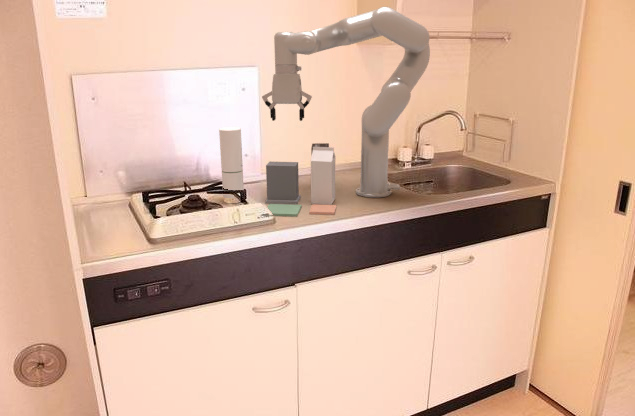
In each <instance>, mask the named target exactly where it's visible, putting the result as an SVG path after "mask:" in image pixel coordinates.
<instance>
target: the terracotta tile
mask: <svg viewBox="0 0 635 416" xmlns="http://www.w3.org/2000/svg"><path fill="white" fill-rule="evenodd" d="M336 211H337V204H332V205H327V204H312V205H311V206H310V209H309V211H308V212H309V213H308V214H309V215H326V216H327V215H328V216H329V215H331V216H335V214H336Z"/></svg>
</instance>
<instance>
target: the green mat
mask: <svg viewBox="0 0 635 416" xmlns="http://www.w3.org/2000/svg"><path fill="white" fill-rule="evenodd" d="M267 207H268V209H269V210H270V211H271V212H272V214H273V215H275V216H274V217H292V218H293V217H296V218H297V217H298V216H299V214H300V212H301V209H302V207H303V206H302V204H271V203H268V205H267ZM267 207H266V208H267Z"/></svg>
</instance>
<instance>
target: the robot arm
mask: <svg viewBox="0 0 635 416" xmlns="http://www.w3.org/2000/svg"><path fill="white" fill-rule="evenodd" d="M430 36H431V35H430V33H429V30H428V29H427V27H425V26H424V25H423V24H421V23H418V22H417V21H416V20H413V19H411V18H410V17H408V16H406V15H404V14H403V13H400V11H397V10H396V9H394V8H392V7H390V6H381V7H379V8H376V9H374V10H371V11H367V12H363V13H360V14H356V15H353V16H349V17H346V18H343V19H340V20H339V21H337V22H335V23H333V24H330V25H327V26H323V27H320V28H316V29H313V30H305V31H300V32H299V31H298V32H292V31H278V32H276V33H275V34H274V37H273V38H274V40H273V43H274V68H275V70H274V71H275V73H273V74H272V75H273V76H272V83H271V84H272V85H271V91H269V92H268V93H266V94H264V95H262V96H261V99H262V100H263V102H264V104H265V105H266V106H267V107H268V109H269V110H270V111H269V114H270V119H272V121H276V119H277V118H276V116H277V115H276V108H275V107H276V105H277V104H278V105H281V104H283V105H284V104H285V105H295V104H296V105H297V106H299V111H298V112H299V118H298V119H299V121H300V122H302V121H303V119H304V118H305V108H306V107H307V106H308V105H309V104H310V102H311V100H312V98H313V95H311V94H308V93H307V92H305V91H303V89H302V81H301V75H300V73H298V72H299V71H302V66H299V65H298V55H299V54H300V55H308V56H309V55H312V54H316V53H319V52H322V51H326V50H329V49H334V48H337V47H344V46H350V45H354V44H357V43H361V42H364V41H368V40H372V39H376V38H380V37H384V38H386V39H387V40H389V41H391V42H393V43H395V44H396V45H398V46H400V47H402V48H403V49H404V53H403V58H402V59H401V61H400V63H398V65H397V68H395V70H394V72H393V73H392V74H391V75H390V77H388V79H387V80H386V82H385V83H384V84H383V85H382V87H381V90H380V93H379V94H378V96H377V97H376V98H375V100H374V102H373V103H372V104H370V105H369V106H367V107H366V108H365V109H364V110H363V112H362V114H361V151H360V186H359V187H357V188H355V194H357V195H358V196H361V197H364V198H365V197H366V198H371V199H372V198H374V199H375V198H377V199H378V198H385V197H388V196H390V195H391V194H392V190H396V191H397V190H398V191H400V189H401V188H400V187H401V186H400V184H397V183H395V182H394V183H393V182H392V183H391V182H389V179H388V168H389V167H388V165H389V148H390V147H389V144H390V141H389V139H390V129H391V128H392V127H393V125H394V124H395V123H396V122H397V120H398V118H399V117H400V116H401V114H402V113H403V112H404V110H405V109H406V108H407V106H408V105H409V103H410V100H411V92H412V90H414V87H415V86H416V85H417V83H418V82H419V81H420V80H421V77H422V76H423V75H424V73H425V71H426V70H427V68H428V65H429V62H430V59H431V58H430V57H431V48H430V44H429V43H430V40H431V39H430ZM269 97H271V100H272V101H271V102H272V103H271V102H270V101H269V100H268V98H269ZM303 97H305V98H306V100H305V102H303V101H302V100H303Z"/></svg>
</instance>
